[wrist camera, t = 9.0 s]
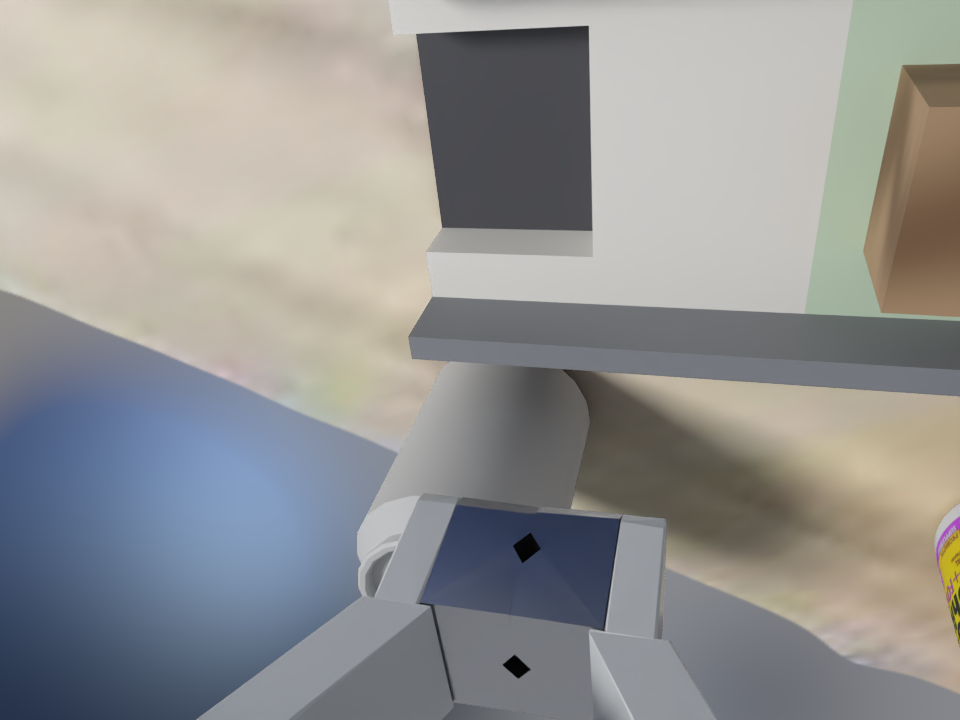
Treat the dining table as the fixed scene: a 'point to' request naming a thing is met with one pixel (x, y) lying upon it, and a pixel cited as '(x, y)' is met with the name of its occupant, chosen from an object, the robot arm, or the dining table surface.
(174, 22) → the dining table surface
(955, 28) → the box
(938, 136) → the walnut block
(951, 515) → the supplement bottle
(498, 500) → the can
